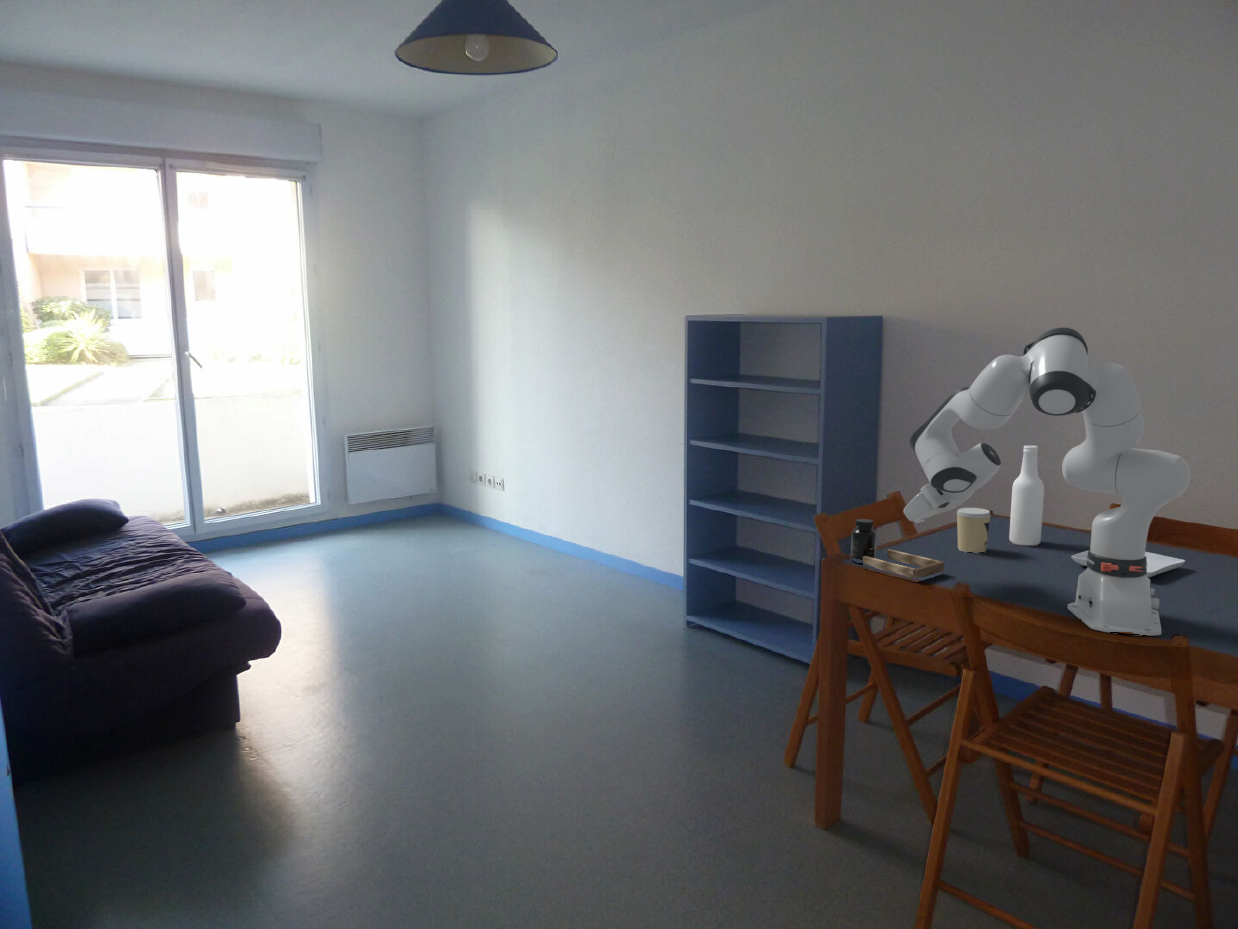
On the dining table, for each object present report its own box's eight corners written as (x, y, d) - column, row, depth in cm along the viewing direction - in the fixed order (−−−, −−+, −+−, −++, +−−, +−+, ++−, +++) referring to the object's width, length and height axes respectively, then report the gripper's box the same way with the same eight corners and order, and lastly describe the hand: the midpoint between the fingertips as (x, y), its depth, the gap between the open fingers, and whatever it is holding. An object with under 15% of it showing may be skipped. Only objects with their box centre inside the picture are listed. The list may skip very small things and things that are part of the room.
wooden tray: (943, 574, 235) (944, 562, 235) (916, 583, 228) (916, 570, 227) (889, 561, 249) (890, 549, 248) (862, 569, 241) (862, 556, 241)
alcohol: (1003, 539, 271) (1009, 444, 266) (1031, 538, 271) (1037, 443, 266) (1017, 546, 262) (1024, 448, 257) (1046, 546, 263) (1053, 447, 258)
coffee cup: (992, 554, 254) (994, 514, 252) (958, 553, 256) (960, 513, 254) (984, 546, 263) (986, 507, 261) (951, 545, 265) (953, 507, 263)
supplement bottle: (876, 565, 245) (877, 523, 243) (851, 564, 246) (852, 522, 244) (874, 558, 252) (875, 518, 250) (850, 557, 253) (851, 517, 251)
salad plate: (1105, 554, 254) (1106, 543, 253) (1186, 571, 237) (1187, 558, 236) (1068, 567, 242) (1069, 555, 241) (1150, 585, 225) (1151, 572, 224)
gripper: (966, 474, 233) (933, 504, 242) (919, 486, 221) (886, 517, 231) (981, 493, 230) (947, 522, 240) (934, 506, 218) (900, 536, 228)
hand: (917, 520), depth 235 cm, fingers closed
